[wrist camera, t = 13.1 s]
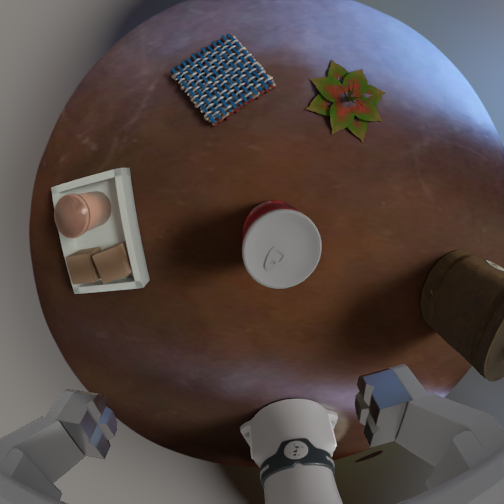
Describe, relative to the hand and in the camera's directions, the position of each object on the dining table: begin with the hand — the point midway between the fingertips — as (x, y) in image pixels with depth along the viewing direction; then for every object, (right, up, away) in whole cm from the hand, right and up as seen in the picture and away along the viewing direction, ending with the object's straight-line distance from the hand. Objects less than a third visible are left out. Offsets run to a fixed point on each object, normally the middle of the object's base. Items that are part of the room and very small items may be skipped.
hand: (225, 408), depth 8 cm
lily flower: (+14, +25, +26) cm, 39 cm away
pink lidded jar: (-21, +11, +28) cm, 37 cm away
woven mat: (-3, +27, +26) cm, 38 cm away
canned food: (+3, +8, +30) cm, 32 cm away
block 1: (-23, +3, +30) cm, 38 cm away
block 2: (-18, +4, +30) cm, 35 cm away
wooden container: (+36, -2, +34) cm, 49 cm away
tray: (-21, +8, +30) cm, 37 cm away
